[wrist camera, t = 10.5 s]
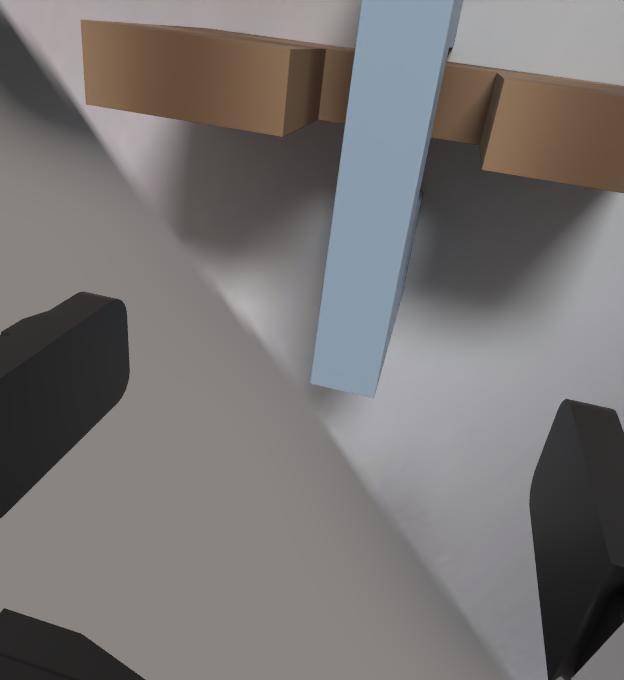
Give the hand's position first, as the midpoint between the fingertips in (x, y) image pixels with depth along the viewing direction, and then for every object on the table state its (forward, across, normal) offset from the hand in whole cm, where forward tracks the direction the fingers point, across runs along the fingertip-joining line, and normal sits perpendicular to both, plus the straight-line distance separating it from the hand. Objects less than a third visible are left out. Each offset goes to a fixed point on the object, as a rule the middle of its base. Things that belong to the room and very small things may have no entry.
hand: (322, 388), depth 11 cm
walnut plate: (+14, 0, -4) cm, 15 cm away
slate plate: (+14, 0, -3) cm, 14 cm away
